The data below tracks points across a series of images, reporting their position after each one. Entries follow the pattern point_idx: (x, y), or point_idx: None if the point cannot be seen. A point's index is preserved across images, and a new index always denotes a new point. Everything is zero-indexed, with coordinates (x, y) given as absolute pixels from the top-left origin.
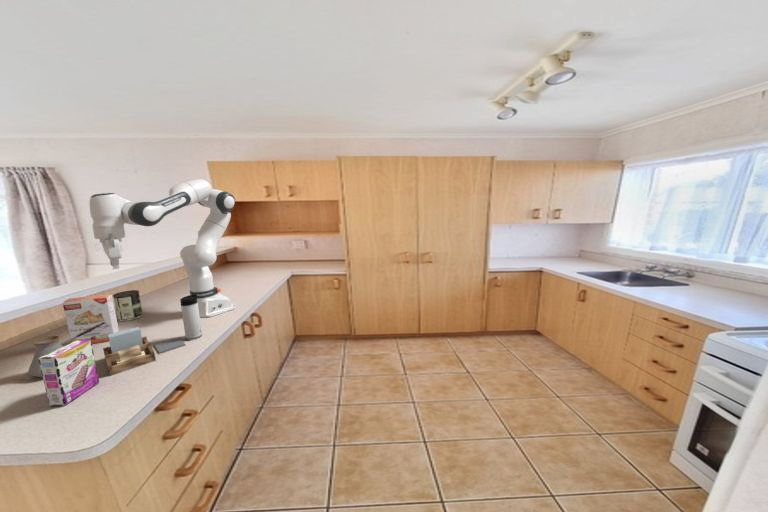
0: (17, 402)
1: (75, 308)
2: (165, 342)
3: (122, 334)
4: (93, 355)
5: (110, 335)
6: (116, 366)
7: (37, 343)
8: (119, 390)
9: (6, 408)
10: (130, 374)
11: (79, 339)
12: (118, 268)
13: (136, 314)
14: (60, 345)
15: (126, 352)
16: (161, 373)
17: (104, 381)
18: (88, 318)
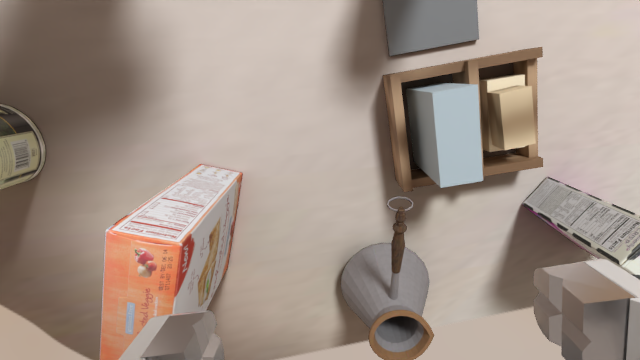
0: (501, 301)
1: None
2: (399, 18)
3: (479, 142)
4: (613, 204)
5: (460, 179)
6: (536, 146)
7: (420, 352)
8: (635, 130)
9: (514, 310)
10: (560, 112)
11: (225, 260)
12: (602, 265)
13: (17, 124)
14: (401, 296)
15: (532, 124)
16: (633, 33)
17: (547, 166)
18: (209, 268)
